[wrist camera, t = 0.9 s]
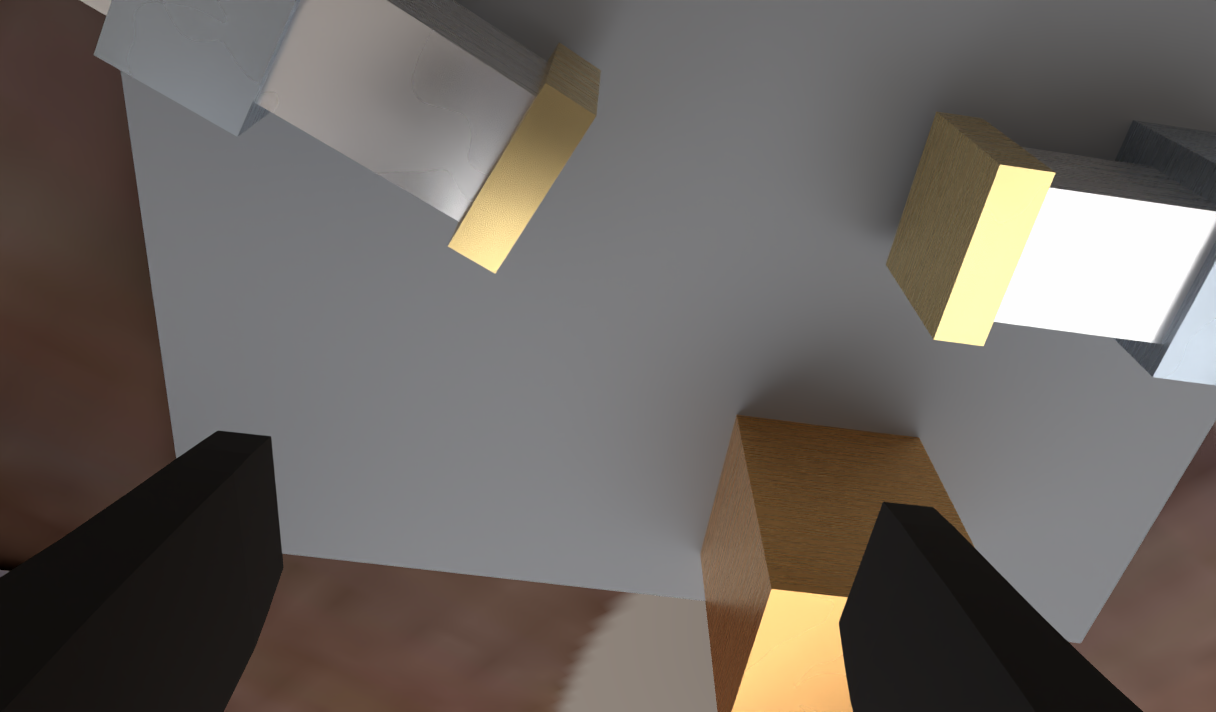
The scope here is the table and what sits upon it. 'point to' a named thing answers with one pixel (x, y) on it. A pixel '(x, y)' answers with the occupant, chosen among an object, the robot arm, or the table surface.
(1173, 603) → the table surface
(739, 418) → the brown square block
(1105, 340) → the base board
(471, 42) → the shaft rig
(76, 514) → the table surface
